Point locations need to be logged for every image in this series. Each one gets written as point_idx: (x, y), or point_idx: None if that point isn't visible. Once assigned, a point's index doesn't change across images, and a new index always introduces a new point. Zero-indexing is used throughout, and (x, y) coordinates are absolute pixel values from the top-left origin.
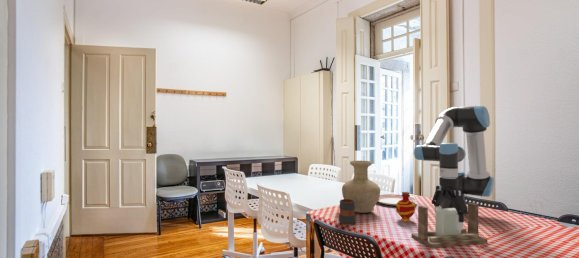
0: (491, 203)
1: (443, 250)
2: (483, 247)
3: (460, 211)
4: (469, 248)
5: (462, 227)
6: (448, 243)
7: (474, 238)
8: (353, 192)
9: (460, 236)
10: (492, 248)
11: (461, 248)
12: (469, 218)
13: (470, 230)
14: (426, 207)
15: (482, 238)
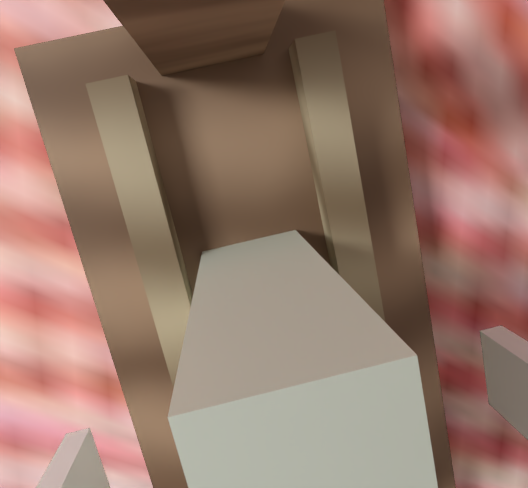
0: None
1: (507, 472)
2: (483, 116)
3: (401, 351)
4: (491, 257)
5: (516, 341)
6: (441, 415)
7: (351, 111)
8: None
9: (375, 279)
10: (515, 44)
11: (484, 322)
12: (162, 15)
13: (200, 58)
14: None
15: (355, 17)
